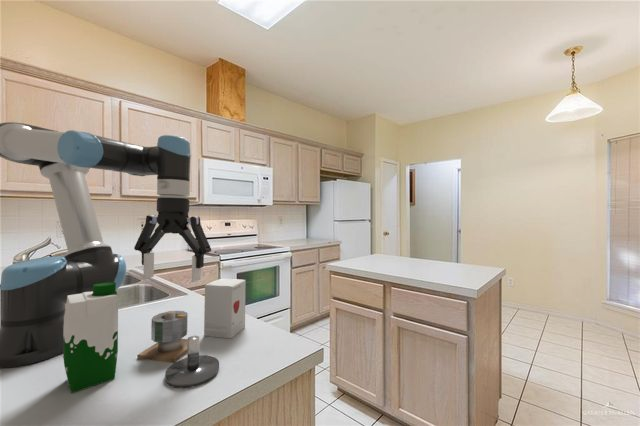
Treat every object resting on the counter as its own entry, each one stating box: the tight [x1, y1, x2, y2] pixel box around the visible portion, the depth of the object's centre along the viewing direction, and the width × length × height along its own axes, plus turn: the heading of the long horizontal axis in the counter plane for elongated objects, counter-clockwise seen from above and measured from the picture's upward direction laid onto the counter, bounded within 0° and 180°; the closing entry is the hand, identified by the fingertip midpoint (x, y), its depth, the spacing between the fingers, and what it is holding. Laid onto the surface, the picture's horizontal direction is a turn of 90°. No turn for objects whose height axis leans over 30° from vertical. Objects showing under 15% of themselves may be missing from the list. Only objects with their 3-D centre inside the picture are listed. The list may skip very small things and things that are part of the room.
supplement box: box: [203, 278, 247, 339], centre depth 86 cm, size 9×9×15 cm
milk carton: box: [62, 282, 119, 394], centre depth 61 cm, size 9×9×20 cm
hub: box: [164, 335, 220, 389], centre depth 64 cm, size 11×11×8 cm
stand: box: [136, 310, 188, 364], centre depth 73 cm, size 10×10×10 cm
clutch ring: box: [150, 310, 189, 343], centre depth 73 cm, size 8×8×5 cm
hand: (172, 279), depth 74 cm, fingers open, 13 cm apart
